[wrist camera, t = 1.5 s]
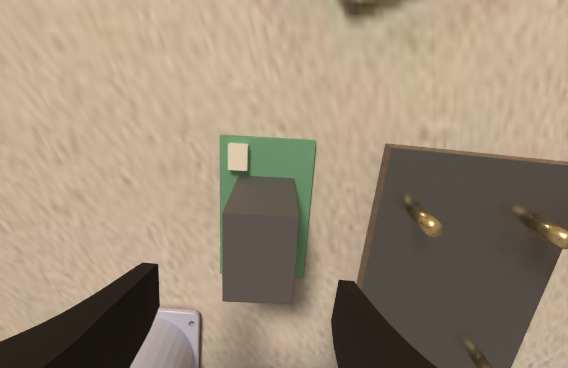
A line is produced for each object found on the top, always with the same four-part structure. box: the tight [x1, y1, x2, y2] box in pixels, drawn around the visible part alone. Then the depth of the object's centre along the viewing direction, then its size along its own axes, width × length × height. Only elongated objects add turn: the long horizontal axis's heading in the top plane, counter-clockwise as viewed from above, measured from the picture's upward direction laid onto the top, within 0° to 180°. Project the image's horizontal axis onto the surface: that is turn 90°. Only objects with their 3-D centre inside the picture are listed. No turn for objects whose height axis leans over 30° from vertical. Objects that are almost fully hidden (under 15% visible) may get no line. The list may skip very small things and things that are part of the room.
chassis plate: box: [357, 144, 568, 368], centre depth 22 cm, size 20×13×4 cm, turn 174°
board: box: [220, 135, 316, 304], centre depth 19 cm, size 10×6×7 cm, turn 177°
